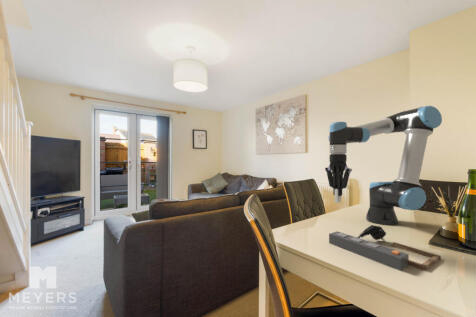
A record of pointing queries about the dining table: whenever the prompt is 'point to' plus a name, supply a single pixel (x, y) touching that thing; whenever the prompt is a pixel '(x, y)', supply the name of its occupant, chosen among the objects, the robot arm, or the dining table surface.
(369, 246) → the power strip
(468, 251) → the dining table surface
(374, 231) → the power plug
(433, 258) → the bay
